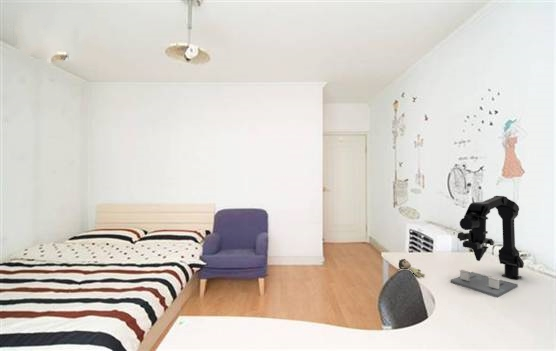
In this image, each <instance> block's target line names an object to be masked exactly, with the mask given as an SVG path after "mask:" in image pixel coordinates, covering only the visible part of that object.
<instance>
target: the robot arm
mask: <svg viewBox="0 0 556 351" xmlns="http://www.w3.org/2000/svg"><path fill="white" fill-rule="evenodd" d="M493 209H496V210H497V214H498V216H499V217H500V218H501V221H502V224H501V225H502V226H501V228H502V246H501V248H500V249H498V260H499V263H500V264H502V265H504V273H502V274H501V276H502V277H505V278H509V279H512V280H515V281H517V280H519V279H521V278H522V276H521V275H520V272H519V269H524V267H525V262H524V261H523V259H522V257H521V256H520V251H519V250H518V249H517V247H516V240H515V238H516V237H515V234H516V233H515V219H516V218H517V217H518V216H519V211H520V207H519V205H518V204H517V203H516V202H515V201H513V200H511V199H509V198H508V197H507V196H504V195H494V196H493V197H491V198H488V199H486V200H484V201H475V202H471V203H470V204H469V206H468V207H467V209H466V212H465V214H464V215H463V218H461V219H460V221H459V226H460V227H461V229H462V230H464V231H468V232H467V233H464V232H463V231H462V232H458V233H457V239H459V241H460V242H462V241H463V242H462V247H464V248H468V249H472V251H473V254H474V256H475V260H476V261H477V262H480V261H481V260H482V258H483V256H484V255H485V253H486V252H487V250H488V249H489V246H494V245H495V243H494V242H495V241H494V240H493V239H492V238H490V237H489V238H487V234H489V233H488V232H489V231H487V220H489V217H488V216H487V215H488V214H490V213H491V210H493ZM486 245H489V246H486Z"/></svg>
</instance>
